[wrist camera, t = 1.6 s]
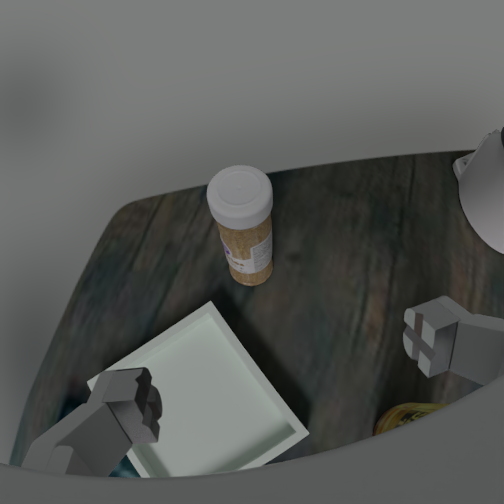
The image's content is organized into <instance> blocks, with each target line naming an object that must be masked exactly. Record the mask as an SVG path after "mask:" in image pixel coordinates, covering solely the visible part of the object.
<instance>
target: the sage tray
mask: <svg viewBox="0 0 504 504" xmlns="http://www.w3.org/2000/svg"><path fill="white" fill-rule="evenodd" d="M139 367H146V368H148V369H149V372H150V374H151V376H152V381H151V384H152V385H153V386H155V387H156V388H157V389H158V391H159V393H160V396H161V400H162V408H163V411H162V417H161V418H160V419H159V420H158V423H159V425H160V432H159V439H158V442H157V443H146V444H132V445H133V446H132V447H131V448H130V450H129V451H128V452H127V453H126V454H127V456H128V457H129V459H130V461H131V462H132V464H133V465H134V467H135V468H136V470H137V471H138V473H139V474H140V476H141V477H142V478H152V477H175V476H190V475H201V474H211V473H219V472H227V471H234V470H241V469H247V468H253V467H259V466H262V465H264V464H265V463H267V462H268V461H270V460H272V459H273V458H275V457H276V456H278V455H279V454H281V453H282V452H284V451H285V450H287V449H288V448H290V447H291V446H293V445H294V444H296V443H297V442H298V441H300V440H301V439H303V438H304V437H306V436H307V435H308V434H310V433H309V432H308V431H307V430H306V428H305V427H304V426H303V425H302V423H301V422H300V421H299V420H298V418H297V417H296V416H295V415H294V413H293V412H292V411H291V409H290V408H289V407H288V406H287V404H286V403H285V402H284V400H283V399H282V398H281V397H280V395H279V394H278V393H277V391H276V390H275V389H274V387H273V386H272V385H271V383H270V382H269V381H268V379H267V378H266V377H265V375H264V374H263V373H262V371H261V370H260V369H259V367H258V366H257V365H256V363H255V362H254V361H253V359H252V358H251V357H250V355H249V354H248V352H247V351H246V350H245V348H244V347H243V346H242V344H241V343H240V341H239V340H238V339H237V337H236V336H235V334H234V333H233V332H232V330H231V329H230V327H229V326H228V325H227V323H226V322H225V320H224V319H223V317H222V316H221V315H220V313H219V312H218V310H217V309H216V307H215V306H214V305H213V303H212V302H211V301H209V302H208V303H207V304H205V305H204V306H202V307H201V308H199V309H198V310H196V311H195V312H193V313H192V314H190V315H189V316H187V317H185V318H184V319H182V320H181V321H179V322H178V323H176V324H175V325H173V326H172V327H170V328H169V329H167V330H166V331H164V332H163V333H161V334H160V335H158V336H157V337H155V338H154V339H152V340H151V341H149V342H148V343H146V344H145V345H143V346H142V347H140V348H138V349H137V350H135V351H134V352H132V353H131V354H129V355H128V356H126V357H125V358H123V359H122V360H120V361H118V362H117V363H115V364H114V365H112V366H111V367H109V368H108V369H106V370H105V371H108V370H118V369H129V368H139ZM98 377H99V374H98V375H97V376H95V377H94V378H92V379H91V380H89V381H87V383H88V385H89V387H90V389H91V391H92V390H93V388H94V386H95V383H96V381H97V379H98Z"/></svg>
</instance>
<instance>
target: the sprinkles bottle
mask: <svg viewBox="0 0 504 504" xmlns="http://www.w3.org/2000/svg"><path fill="white" fill-rule="evenodd" d="M207 200H208V204H209V207H210V210H211V213H212V215H213V217H214V218H215V220H216V221H217V224H218V227H219V231H220V236H221V240H222V243H223V246H224V250H225V254H226V257H227V260H228V262H229V269H230V273H231V275H232V276H233V278H234V279H235V280H236V281H237V282H239V283H241V284H243V285H248V286H253V285H258V284H261V283H263V282H265V281H266V280H267V279H268V278H269V276H270V275H271V273H272V270H273V261H272V221H271V209H272V206H273V192H272V185H271V182H270V180H269V178H268V177H267V175H266V174H265V173H264V172H262V171H261V170H259V169H257V168H255V167H252V166H248V165H235V166H231V167H228V168H225V169H223V170H221V171H220V172H218V173H217V174H216V175H215V176H214V177H213V178H212V180H211V181H210V183H209V185H208V188H207Z"/></svg>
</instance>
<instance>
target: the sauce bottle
mask: <svg viewBox="0 0 504 504" xmlns="http://www.w3.org/2000/svg"><path fill="white" fill-rule="evenodd" d="M447 405H449V404H434V403H405V404H400V405H396V406H394V407H392V408H390V409H389V410H388V411H386V412H385V413H384V414H383V415H382V416H381V417H380V419H379V421H378V422H377V424H376V426H375V428H374V432H373V436H375V435H378V434H381V433H384V432H386V431H389V430H392V429H394V428H397V427H399V426H402V425H404V424H407V423H409V422H412V421H414V420H416V419H419V418H421V417H423V416H426V415H428V414H430V413H432V412H434V411H437V410H439V409H441V408H443V407H445V406H447Z"/></svg>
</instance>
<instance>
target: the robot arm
mask: <svg viewBox="0 0 504 504" xmlns="http://www.w3.org/2000/svg"><path fill="white" fill-rule="evenodd" d="M453 170H454V173H455V175H456V177H457V179H458V183H459V197H460V202H461V205H462V208H463V211H464V213H465V215H466V217H467V219H468V221H469V222H470V224H471V226H472V227H473V228H474V230H475V231H476V232H477V234H478V235H479V236H480V237H481V238H482V239H483V240H484V241H485V242H486V243H487V244H488V245H489V246H491V247H492V248H493V249H495V250H497V251H498V252H500V253H502V254H504V127H503V129H502V131H501V133H500V132H499V131H498V130H495V131H494V132H493V133H492V134H491V133H489V134H488V135H486V136H485V137H484V139H483V140H482V142H481V143H480V145H479V146H478V148H477V149H476V151H475V152H473V153H471V154H468V155H466V156H464V157H461V158H459V159H457V160H456V161H455V162H454V163H453ZM404 321H405V322H406V324H407V325H408V326H407V327H406V329H405V331H404V332H403V342H404V347H405V350H406V352H407V354H408V355H409V356H410V358H411V359H414V360H417V361H419V362H418V367H419V368H420V369H421V370H422V372H423V373H424V374H425V375H426V376H427V377H428V378H430V377H432V376H435V375H437V374H440V373H442V372H444V371H447V370H449V369H450V370H449V371H451V372H454V373H456V374H458V375H461V376H463V377H465V378H468V379H470V380H472V381H475V382H477V383H480V384H482V385H484V386H483V387H481V388H480V389H478V390H476V391H474V392H472V393H470V394H469V395H467V396H465V397H463V398H461V399H459V400H457V401H455V402H453V403H451V404H449V405H447V406H445V407H443V408H441V409H439V410H437V411H434V412H432V413H430V414H428V415H426V416H423V417H421V418H419V419H416V420H414V421H412V422H409V423H407V424H404V425H402V426H399V427H397V428H394V429H392V430H389V431H386V432H384V433H381V434H378V435H375V436H373V437H370V438H367V439H364V440H361V441H358V442H355V443H352V444H349V445H345V446H342V447H339V448H335V449H332V450H329V451H325V452H321V453H318V454H314V455H310V456H306V457H302V458H298V459H293V460H289V461H284V462H280V463H275V464H270V465H265V466H259V467H253V468H247V469H241V470H234V471H227V472H219V473H211V474H201V475H190V476H175V477H152V478H119V477H108V475H109V474H110V473H111V472H112V471H113V469H114V468H115V467H116V466H117V464H118V463H119V462H120V461H121V460H122V458H123V457H124V456H125V455H126V453H127V452H128V451H129V450H130V448H131V447H132V446H133V445H132V444H146V443H157V442H158V439H159V432H160V425H159V423H158V420H159V419H160V418H161V417H162V411H163V408H162V400H161V396H160V393H159V391H158V389H157V388H156V387H155V386H153V385H152V384H151V381H152V376H151V374H150V372H149V369H148V368H146V367H139V368H129V369H118V370H108V371H102V372H101V373H100V374H99V377H98V379H97V381H96V383H95V386H94V388H93V390H92V392H91V395H90V397H89V399H88V402H87V404H82V405H80V406H79V407H78V408H77V409H75V410H74V411H73V412H71V413H70V414H69V415H67V416H66V417H65V418H64V419H62V420H61V421H60V422H58V423H57V424H56V425H54V426H53V427H52V428H50V429H49V430H48V431H46V432H45V433H44V434H42V435H41V436H40V437H39V438H37V439H36V440H35V441H33V442H32V444H31V446H30V449H29V451H28V453H27V455H26V457H25V459H24V462H23V464H22V466H21V467H17V466H12V465H7V464H3V463H0V504H504V319H500V318H495V317H490V316H484V315H479V314H475V315H472V314H471V313H469V312H468V311H467V310H465V309H464V308H463V307H461V306H460V305H459V304H457V303H456V302H454V301H453V300H452V299H450V298H449V297H447V296H441V297H438V298H436V299H433V300H431V301H428V302H426V303H423V304H420V305H417V306H414V307H411V308H408V309H406V311H405V316H404Z"/></svg>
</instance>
